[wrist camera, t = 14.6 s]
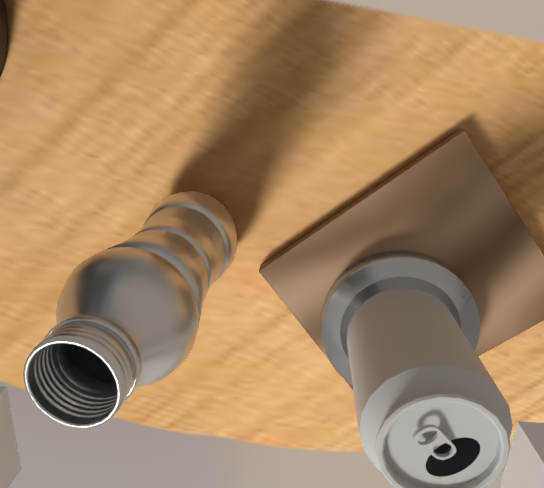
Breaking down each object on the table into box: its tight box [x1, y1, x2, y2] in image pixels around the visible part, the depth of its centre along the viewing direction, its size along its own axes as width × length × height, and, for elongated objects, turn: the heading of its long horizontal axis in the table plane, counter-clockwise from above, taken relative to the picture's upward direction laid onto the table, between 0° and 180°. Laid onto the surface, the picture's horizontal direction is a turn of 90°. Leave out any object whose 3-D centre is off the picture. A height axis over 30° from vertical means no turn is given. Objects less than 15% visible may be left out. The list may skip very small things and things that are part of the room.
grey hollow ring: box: [321, 250, 480, 385], centre depth 35 cm, size 11×11×2 cm
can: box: [347, 288, 512, 488], centre depth 28 cm, size 8×8×12 cm
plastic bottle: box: [23, 191, 237, 428], centre depth 26 cm, size 6×7×20 cm
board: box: [259, 129, 544, 389], centre depth 35 cm, size 15×17×1 cm
